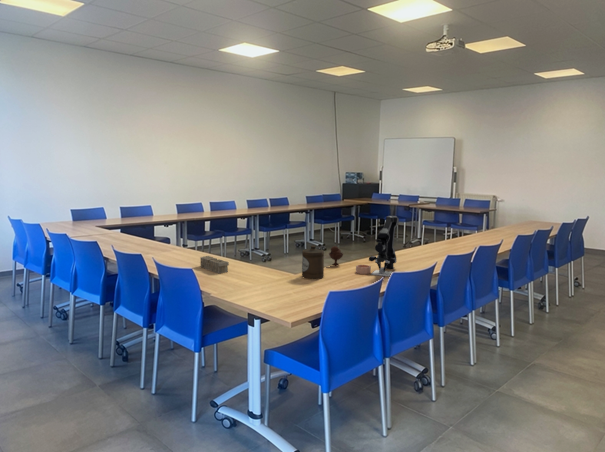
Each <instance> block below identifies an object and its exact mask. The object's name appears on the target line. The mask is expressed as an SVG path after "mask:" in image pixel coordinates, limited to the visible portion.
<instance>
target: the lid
mask: <svg viewBox="0 0 605 452" xmlns="http://www.w3.org/2000/svg"><path fill="white" fill-rule="evenodd" d="M372 272H373V271H372ZM372 272H371V273H372ZM392 272H393V271H388V270H385V272H384V266H381V268H380V269H379V268H378V269H375V270H374V272H373V273H372V274H373V275H372V276H378V275H382V276H381V277H387V276H389V275H390V274H391V273H392Z"/></svg>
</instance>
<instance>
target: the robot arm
mask: <svg viewBox="0 0 605 452" xmlns="http://www.w3.org/2000/svg"><path fill="white" fill-rule="evenodd" d="M399 222H400V219H399V217H398V216H394V215H392V216H391V215H389V216H386V217H385V222H384V224H383V227H382V228H381V230H379V232H378V234H377V237H376V243H377V244H376V245H375V247H374V250H375V251H376V252H377V253H378V254H377V256H376V255H371V256H369V257H368V262H374V261H375V262H374V263H375V264H376V265H377V266H378V270H379V269H380V268H382V263H384V266H383V267H384V272H385V271H386V270H394V269H395V267H394V264H396V263H397V255H396V251H395V248H394V243H395V233H396V228H397V226H398V225H399Z"/></svg>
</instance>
